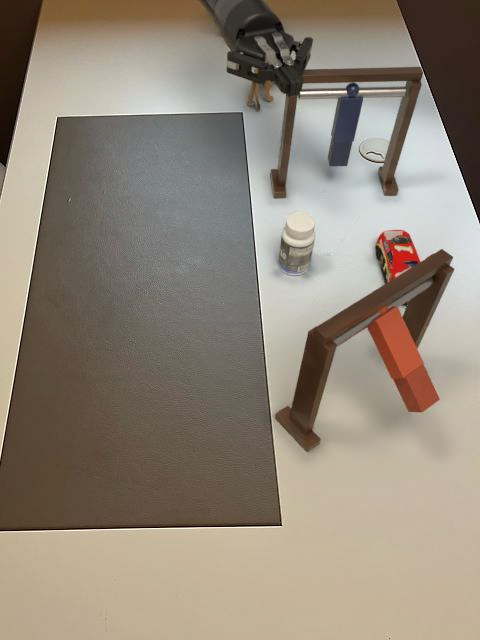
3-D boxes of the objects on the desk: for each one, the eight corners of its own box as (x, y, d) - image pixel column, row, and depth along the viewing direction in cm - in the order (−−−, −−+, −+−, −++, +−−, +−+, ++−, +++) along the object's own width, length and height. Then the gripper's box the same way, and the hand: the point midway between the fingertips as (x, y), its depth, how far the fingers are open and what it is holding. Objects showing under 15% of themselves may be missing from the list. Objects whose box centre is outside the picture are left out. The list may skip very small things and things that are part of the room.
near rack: (274, 418, 78) (293, 317, 62) (388, 342, 84) (431, 234, 68) (307, 452, 75) (335, 356, 59) (422, 371, 81) (475, 265, 65)
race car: (428, 307, 88) (437, 288, 84) (389, 309, 88) (397, 289, 84) (407, 242, 95) (415, 221, 92) (371, 243, 95) (378, 222, 92)
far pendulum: (288, 159, 100) (299, 80, 89) (383, 156, 100) (405, 78, 89) (290, 167, 99) (300, 89, 88) (386, 165, 99) (408, 86, 88)
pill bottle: (276, 253, 94) (282, 209, 87) (308, 254, 94) (316, 209, 87) (278, 276, 91) (284, 232, 84) (310, 277, 91) (319, 233, 84)
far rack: (270, 175, 104) (282, 61, 89) (389, 172, 104) (423, 58, 89) (273, 198, 101) (286, 84, 85) (396, 195, 101) (433, 81, 85)
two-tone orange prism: (368, 441, 67) (315, 334, 65) (463, 372, 72) (416, 270, 70) (381, 442, 65) (326, 332, 63) (478, 371, 70) (430, 266, 67)
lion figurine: (258, 69, 123) (261, 22, 115) (284, 72, 122) (290, 24, 115) (245, 112, 115) (248, 63, 107) (273, 115, 114) (278, 67, 107)
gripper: (203, 4, 85) (249, 70, 76) (293, -11, 87) (348, 51, 78) (203, 59, 91) (245, 126, 82) (286, 43, 93) (337, 107, 84)
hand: (295, 89), depth 80 cm, fingers closed
